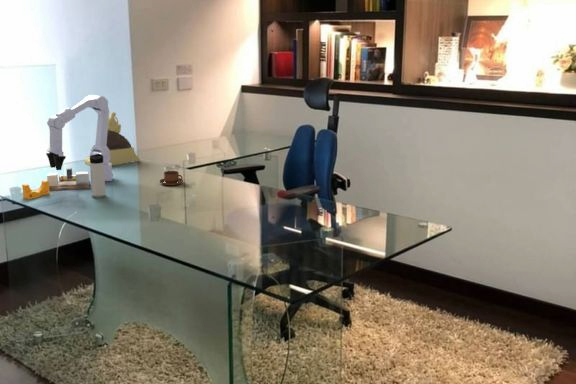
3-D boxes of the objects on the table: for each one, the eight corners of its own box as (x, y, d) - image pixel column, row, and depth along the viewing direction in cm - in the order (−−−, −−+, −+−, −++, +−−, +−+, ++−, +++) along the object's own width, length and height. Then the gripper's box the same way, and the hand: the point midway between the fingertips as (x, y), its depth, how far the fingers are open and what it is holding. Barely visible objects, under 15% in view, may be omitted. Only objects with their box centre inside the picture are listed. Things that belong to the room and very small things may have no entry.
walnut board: (89, 181, 333) (89, 179, 333) (88, 188, 320) (88, 186, 320) (46, 183, 328) (46, 181, 328) (43, 190, 315) (43, 188, 315)
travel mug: (107, 194, 311) (104, 153, 306) (103, 198, 304) (101, 156, 299) (94, 194, 311) (91, 153, 305) (90, 197, 304) (87, 156, 299)
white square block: (58, 183, 325) (57, 172, 323) (57, 185, 320) (56, 175, 319) (48, 183, 324) (47, 173, 322) (47, 186, 319) (46, 175, 318)
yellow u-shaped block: (28, 199, 300) (27, 186, 299) (23, 197, 303) (22, 184, 301) (51, 194, 309) (50, 181, 308) (46, 193, 312) (45, 180, 310)
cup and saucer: (184, 181, 339) (184, 169, 337) (181, 187, 327) (181, 175, 326) (161, 181, 338) (161, 169, 337) (158, 186, 327) (157, 175, 325)
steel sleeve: (89, 182, 329) (88, 171, 327) (88, 184, 324) (88, 173, 323) (76, 182, 327) (76, 172, 326) (76, 185, 323) (75, 174, 321)
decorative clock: (129, 157, 391) (127, 108, 383) (139, 161, 381) (137, 111, 373) (84, 163, 373) (81, 112, 365) (94, 167, 364) (91, 115, 356)
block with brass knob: (87, 179, 327) (87, 167, 326) (87, 181, 324) (86, 168, 323) (59, 181, 324) (58, 168, 322) (59, 182, 321) (58, 169, 319)
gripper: (42, 139, 315) (42, 166, 317) (53, 143, 304) (53, 171, 306) (56, 139, 319) (56, 166, 322) (67, 143, 308) (67, 170, 311)
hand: (55, 168), depth 314 cm, fingers open, 7 cm apart
